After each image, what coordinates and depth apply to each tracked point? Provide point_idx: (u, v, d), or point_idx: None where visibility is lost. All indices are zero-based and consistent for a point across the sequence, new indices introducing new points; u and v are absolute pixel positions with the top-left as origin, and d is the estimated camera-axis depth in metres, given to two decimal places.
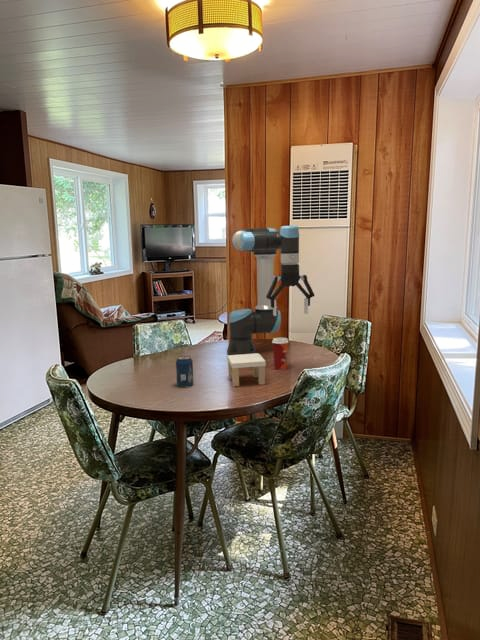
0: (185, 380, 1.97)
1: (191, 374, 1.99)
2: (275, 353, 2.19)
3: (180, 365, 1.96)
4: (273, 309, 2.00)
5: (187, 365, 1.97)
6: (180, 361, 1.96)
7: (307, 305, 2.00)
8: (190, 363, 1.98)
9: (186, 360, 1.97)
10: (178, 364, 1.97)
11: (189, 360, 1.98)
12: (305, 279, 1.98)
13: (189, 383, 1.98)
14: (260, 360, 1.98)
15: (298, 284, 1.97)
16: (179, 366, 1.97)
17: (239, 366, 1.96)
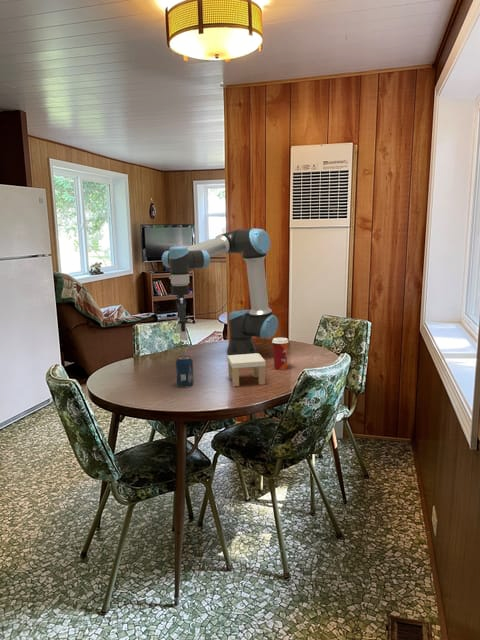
0: (185, 380, 1.97)
1: (191, 374, 1.99)
2: (275, 353, 2.19)
3: (180, 365, 1.96)
4: None
5: (187, 365, 1.97)
6: (181, 361, 1.96)
7: (179, 330, 1.90)
8: (190, 363, 1.98)
9: (186, 360, 1.97)
10: (178, 364, 1.97)
11: (189, 360, 1.98)
12: (178, 303, 1.89)
13: (189, 383, 1.98)
14: (260, 360, 1.98)
15: (177, 306, 1.92)
16: (179, 366, 1.97)
17: (239, 366, 1.96)
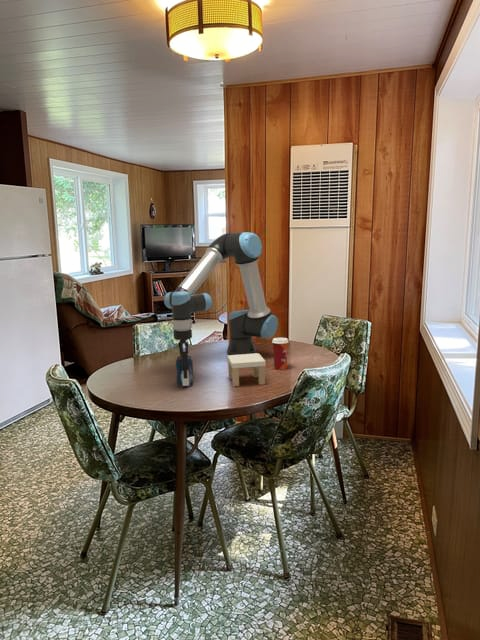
0: None
1: (191, 374, 1.99)
2: (275, 353, 2.19)
3: (180, 365, 1.96)
4: None
5: None
6: (180, 361, 1.96)
7: (182, 377, 1.96)
8: (190, 363, 1.98)
9: None
10: (178, 364, 1.97)
11: (189, 360, 1.98)
12: (181, 350, 1.93)
13: (189, 383, 1.98)
14: (260, 360, 1.98)
15: (179, 351, 1.96)
16: (179, 366, 1.97)
17: (239, 366, 1.96)
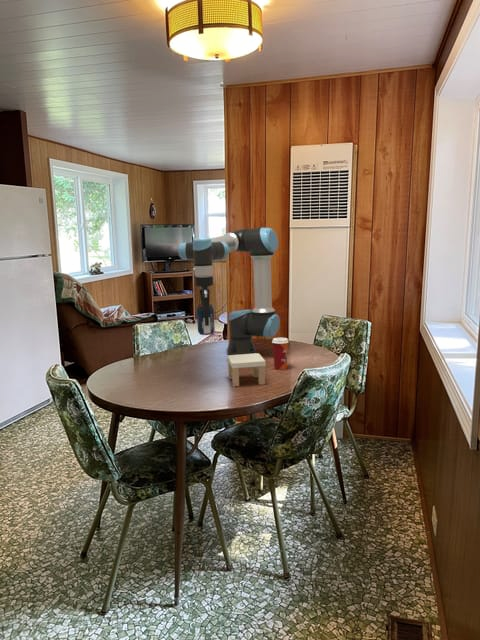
0: None
1: (213, 322, 1.97)
2: (275, 353, 2.19)
3: (201, 312, 1.94)
4: None
5: None
6: (202, 309, 1.94)
7: (203, 324, 1.94)
8: (211, 310, 1.95)
9: None
10: (199, 312, 1.95)
11: (210, 307, 1.95)
12: (202, 296, 1.90)
13: None
14: (260, 360, 1.98)
15: (201, 299, 1.94)
16: (200, 313, 1.94)
17: (239, 366, 1.96)
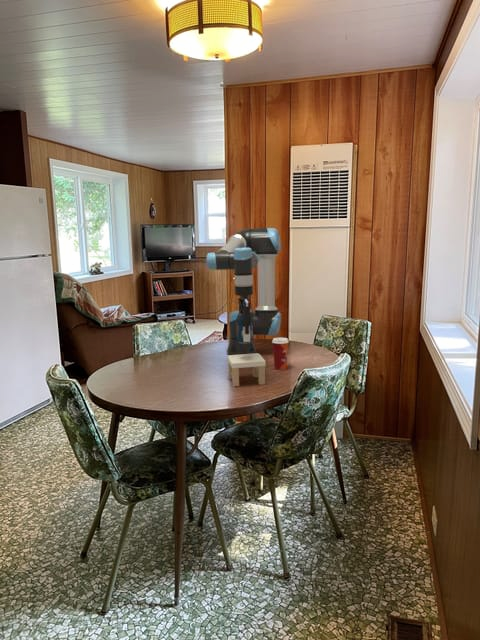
0: None
1: (252, 330, 1.99)
2: (275, 353, 2.19)
3: (241, 321, 1.97)
4: None
5: None
6: (242, 317, 1.97)
7: (243, 333, 1.97)
8: (251, 319, 1.98)
9: None
10: (239, 320, 1.97)
11: (250, 316, 1.98)
12: (243, 305, 1.93)
13: (250, 339, 1.98)
14: (260, 360, 1.98)
15: (241, 307, 1.96)
16: (240, 322, 1.97)
17: (239, 366, 1.96)
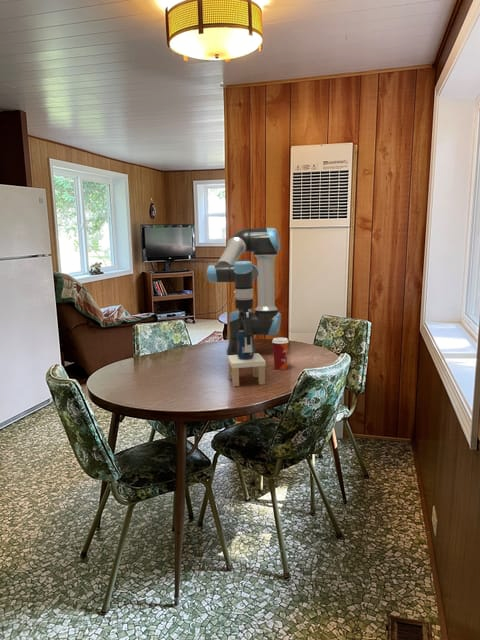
0: (247, 353, 1.99)
1: (252, 346, 2.01)
2: (275, 353, 2.19)
3: (242, 338, 1.98)
4: None
5: None
6: (242, 334, 1.98)
7: None
8: None
9: None
10: (240, 337, 1.99)
11: None
12: (244, 317, 1.93)
13: (250, 356, 2.00)
14: (260, 360, 1.98)
15: (241, 320, 1.97)
16: (241, 338, 1.98)
17: (239, 366, 1.96)
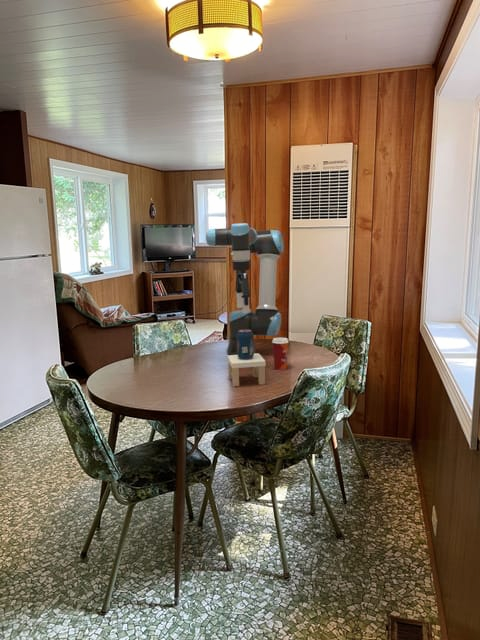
0: (247, 353, 1.99)
1: (252, 346, 2.01)
2: (275, 353, 2.19)
3: (242, 338, 1.98)
4: None
5: (249, 337, 1.98)
6: (242, 334, 1.98)
7: (242, 304, 1.98)
8: (251, 336, 1.99)
9: (248, 333, 1.98)
10: (239, 337, 1.99)
11: (250, 333, 1.99)
12: (241, 278, 1.97)
13: (250, 356, 2.00)
14: (260, 360, 1.98)
15: (239, 281, 2.00)
16: (241, 338, 1.98)
17: (239, 366, 1.96)
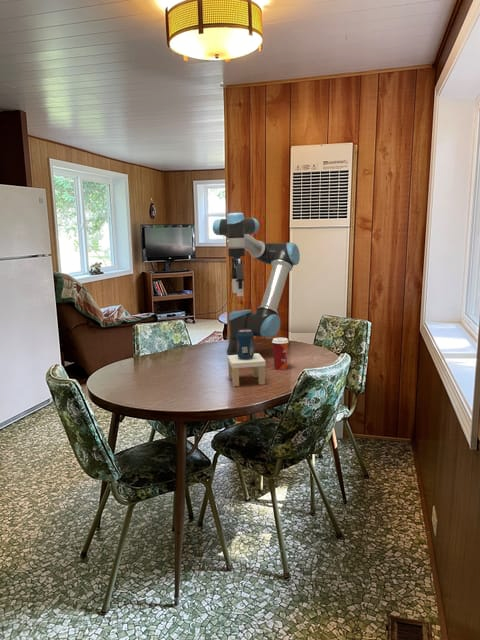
0: (247, 353, 1.99)
1: (252, 346, 2.01)
2: (275, 353, 2.19)
3: (242, 338, 1.98)
4: None
5: (249, 337, 1.98)
6: (242, 334, 1.98)
7: (237, 288, 2.12)
8: (251, 336, 1.99)
9: (248, 333, 1.98)
10: (239, 337, 1.99)
11: (250, 333, 1.99)
12: (236, 263, 2.11)
13: (250, 356, 2.00)
14: (260, 360, 1.98)
15: (234, 267, 2.15)
16: (241, 338, 1.98)
17: (239, 366, 1.96)
